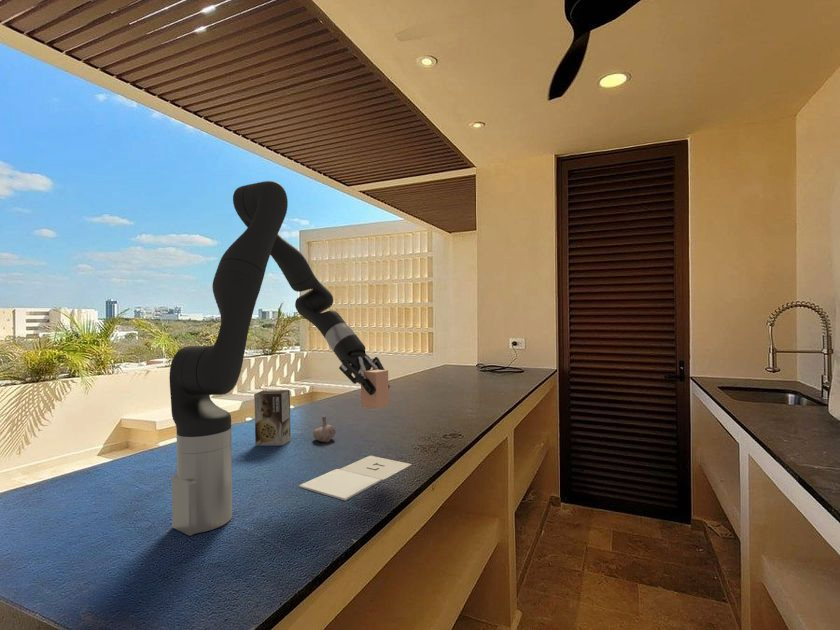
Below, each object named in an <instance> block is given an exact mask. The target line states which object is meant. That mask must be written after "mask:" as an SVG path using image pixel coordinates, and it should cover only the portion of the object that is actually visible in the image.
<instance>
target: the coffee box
mask: <svg viewBox="0 0 840 630" xmlns="http://www.w3.org/2000/svg"><path fill="white" fill-rule="evenodd" d="M290 393H291V392H290V389H272V390H271V389H269V390H266V389H265V390H260V391H258V392H256V393H254V394H253V395H254V396H253V397H254V399H253V400H254V433H255V434H254V435H255V436H254V437H255V444H254V445H255V446H260V447H261V446H263V447H264V446H265V447H267V446H277V447H278V446H285V445H286V444H287V443H289V442H290V441H291V437H292V436H291V397H290V396H291V395H290Z"/></svg>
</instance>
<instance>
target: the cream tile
mask: <svg viewBox="0 0 840 630" xmlns="http://www.w3.org/2000/svg"><path fill="white" fill-rule="evenodd" d="M412 465H413V464H411V463H408V462H403V461H398V460H393V459H388V458H385V457H384V458H383V457H378V456H374V455H368V456H366V457H364V458H361V459H359V460H356V461H354V462H353V463H350V464H348V465H346V466H343V467H342V468H340V470H344V471H348V472H353V473H357V474H361V475H365V476H369V477H373V478H377V479H381V481H382V480H383V481H384V480H386V479H387V478H390V477H392V476H394V475H396V474H397V473H399V472H401V471H402V470H404V469H406V468H408V467H410V466H412Z"/></svg>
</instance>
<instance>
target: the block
mask: <svg viewBox="0 0 840 630" xmlns="http://www.w3.org/2000/svg"><path fill="white" fill-rule="evenodd" d="M364 373H365V374H366V375H367V379H369V380H370V381H371V383H372V384H373V385H374V387H375V388H376V391H375V393H374V394H373V395H369V393H368V392H367V391H366V390H365V388H364V387H363V386H362V385H360V407H361V408H367V409H368V408H369V409H380V408H383V407H388V406H389V405H390V404H389V396H390V395H389V394H390V393H389V389H388V384H389V370H388V369H385V370H372V369H370V370H366V371H365V372H364ZM361 376H362V375H361Z"/></svg>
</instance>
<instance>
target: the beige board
mask: <svg viewBox="0 0 840 630" xmlns="http://www.w3.org/2000/svg"><path fill="white" fill-rule="evenodd" d="M380 482H382V479H378V478H374V477H370V476H366V475H361V474H357V473H353V472H349V471H345V470H341V468H335V469H333V470H331V471H329V472H327V473H324V474H322V475H320V476H317V477H315V478H312V479H311V480H308V481H306V482H303V483H301V484H299V486H298V487H299V488H300V489H304V490H308V491H311V492H315V493H318V494H321V495H325V496H328V497H331V498H335V499H338V500H342V501H348V500H349V499H352V498H354V497H355V496H356V495H358V494H360V493H362V492H364V491H366V490H368V489H369V488H371V487H373V486H375V485H377V484H379V483H380Z"/></svg>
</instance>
